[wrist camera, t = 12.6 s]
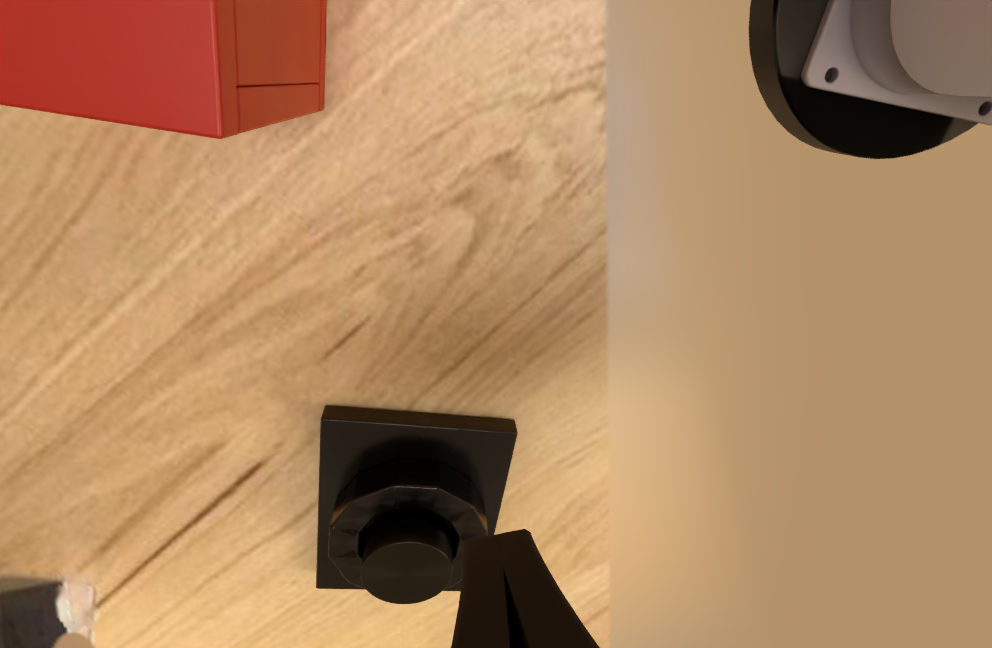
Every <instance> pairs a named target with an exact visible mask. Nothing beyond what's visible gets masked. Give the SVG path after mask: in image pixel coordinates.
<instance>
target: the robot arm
mask: <svg viewBox="0 0 992 648" xmlns="http://www.w3.org/2000/svg"><path fill="white" fill-rule="evenodd" d="M829 69H830V70H831V77H830V78H829V80H828V81H826V80H825V74H826V72H827V71H828V70H829ZM801 81H802V83H803V84H804V85H805V86H807V87H810V88H815V89H819V90H824V91H829V92H834V93H838V94H843V95H848V96H853V97H857V98H862V99H867V100H871V101H876V102H881V103H886V104H890V105H895V106H900V107H905V108H909V109H914V110H919V111H924V112H928V113H933V114H938V115H943V116H947V117H952V118H957V119H961V120H966V121H971V122H976V123H981V124H985V125H990V126H992V0H829V1H828V4H827V6H826V9H825V12H824V14H823V17H822V19H821V22H820V25H819V27H818V30H817V32H816V35H815V38H814V40H813V43H812V46H811V48H810V51H809V53H808V56H807V59H806V61H805V64H804V66H803V69H802V73H801ZM981 105H982V108H981V110H980V111H979V108H980V106H981ZM978 111H979V112H978ZM451 648H600V647H599V646H598V645H597V643H596V642H595V641H594V639H593V638H592V636H591V635H590V634H589V632H588V631H587V629H586V628H585V627H584V625H583V624H582V622H581V621H580V619H579V618H578V616H577V615H576V613H575V612H574V610H573V609H572V607H571V606H570V604H569V603H568V601H567V600H566V598H565V596H564V595H563V593H562V592H561V590H560V588H559V587H558V585H557V583H556V582H555V580H554V578H553V577H552V575H551V573H550V571H549V570H548V568H547V566H546V564H545V563H544V561H543V559H542V557H541V555H540V553H539V551H538V549H537V547H536V545H535V543H534V540H533V538H532V536H531V533H530V532H529V531H527V530H526V529H522V530H517V531H512V532H507V533H502V534H497V535H492V536H487V537H482V538H477V539H472V540H468V541H467V542H466V543H465V544H464V545H463V575H462V586H461V593H460V601H459V608H458V613H457V619H456V624H455V630H454V636H453V641H452V646H451Z"/></svg>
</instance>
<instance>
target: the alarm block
mask: <svg viewBox="0 0 992 648" xmlns="http://www.w3.org/2000/svg"><path fill="white" fill-rule="evenodd" d="M516 438H517V428H516V424H515V421H514V420H503V419H490V418H477V417H464V416H451V415H438V414H425V413H412V412H399V411H386V410H373V409H360V408H347V407H334V406H325V408H324V411H323V414H322V417H321V430H320V466H319V502H318V538H317V574H316V588H318V589H366V588H365V587H364V585H363V583H362V581H361V566H362V560H363V553H364V547H365V540H366V534H367V531H368V529H369V527H370V526H371V525H372V523H373V522H374V521H375V520H376V519H377V518H379V517H380V516H381V515H383V514H385V513H387V512H390V511H393V510H396V509H401V508H414V509H425V510H429V511H431V512H434V513H435V514H437V515H439V516H440V517H441V518H443V519H444V520H445V521H446V523H447V524H448V526H449V528H450V530H451V535H452V565H453V572H452V577H451V580H450V582H449V584H448V585H447V587H446V588H445V589H444V590H443V591H461V586H462V575H463V545H464V544H465V543H466V542H467V541H468V540H472V539H477V538H482V537H487V536H492V535H494V533H495V528H496V524H497V520H498V515H499V511H500V507H501V502H502V498H503V494H504V489H505V485H506V481H507V476H508V472H509V468H510V463H511V459H512V455H513V451H514V446H515V442H516Z"/></svg>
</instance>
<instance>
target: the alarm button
mask: <svg viewBox="0 0 992 648" xmlns="http://www.w3.org/2000/svg"><path fill="white" fill-rule="evenodd" d="M452 572H453V565H452V535H451V530H450V528H449V526H448V524H447V523H446V521H445V520H444V519H443V518H441V517H440V516H439V515H437V514H435V513H434V512H431V511H429V510H425V509H414V508H401V509H396V510H393V511H390V512H387V513H385V514H383V515H381V516H380V517H379V518H377V519H376V520H375V521H374V522H373V523H372V525H371V526H370V527H369V529H368V531H367V534H366V540H365V547H364V553H363V560H362V566H361V581H362V583H363V585H364V587H365V588H366V590H367V591H368V592H369V593H371V594H372V595H373V596H375V597H376V598H378V599H380V600H383V601H386V602H390V603H396V604H412V603H418V602H422V601H425V600H428V599H431V598H432V597H434V596H436V595H438V594H439V593H440V592H442V591H443V590H444V589H445V588H446V587H447V585H448V584H449V582H450V580H451V577H452Z"/></svg>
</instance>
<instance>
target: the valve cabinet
mask: <svg viewBox="0 0 992 648" xmlns="http://www.w3.org/2000/svg"><path fill="white" fill-rule="evenodd" d="M325 39H326V0H0V105H6V106H13V107H19V108H25V109H32V110H38V111H44V112H51V113H57V114H64V115H70V116H76V117H83V118H89V119H96V120H102V121H108V122H115V123H121V124H127V125H134V126H140V127H147V128H153V129H159V130H166V131H172V132H178V133H185V134H191V135H198V136H204V137H210V138H217V139H222V138H225V137H229V136H233V135H236V134H238V133H242V132H246V131H249V130H253V129H257V128H260V127H264V126H268V125H271V124H275V123H278V122H282V121H286V120H289V119H293V118H296V117H300V116H304V115H307V114H311V113H315V112H318V111H321V110H323V109H324V81H325Z"/></svg>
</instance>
